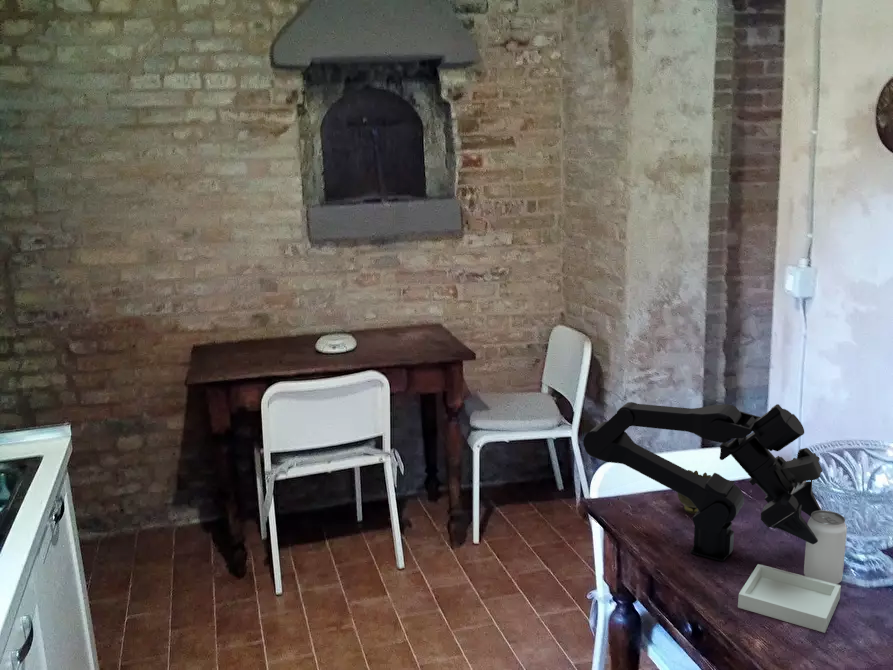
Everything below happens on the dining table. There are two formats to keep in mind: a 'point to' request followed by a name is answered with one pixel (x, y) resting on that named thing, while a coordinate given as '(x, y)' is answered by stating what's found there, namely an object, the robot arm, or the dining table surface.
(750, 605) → the tray
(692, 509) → the olive piece
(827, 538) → the can
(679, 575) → the dining table surface
